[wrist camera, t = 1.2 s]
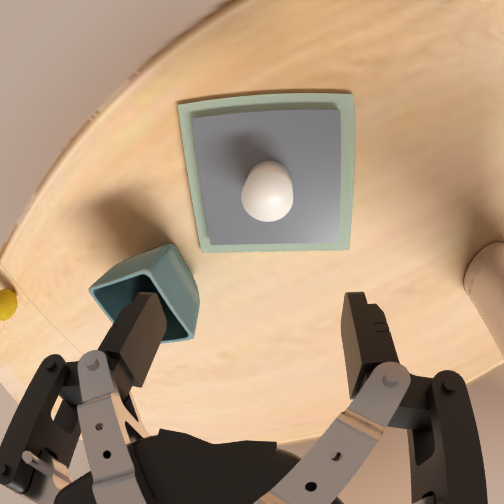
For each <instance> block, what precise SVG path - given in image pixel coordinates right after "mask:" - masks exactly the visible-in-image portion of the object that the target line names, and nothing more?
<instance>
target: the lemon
mask: <svg viewBox="0 0 504 504" xmlns="http://www.w3.org/2000/svg"><path fill="white" fill-rule="evenodd" d="M16 309H17V298H16V293H15V292H14V291H11V290H9V289H3V290H0V320H1V321H5V320H7V319H9V318H10V317H11V316H12V315H13V314H14V313H15V311H16Z"/></svg>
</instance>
